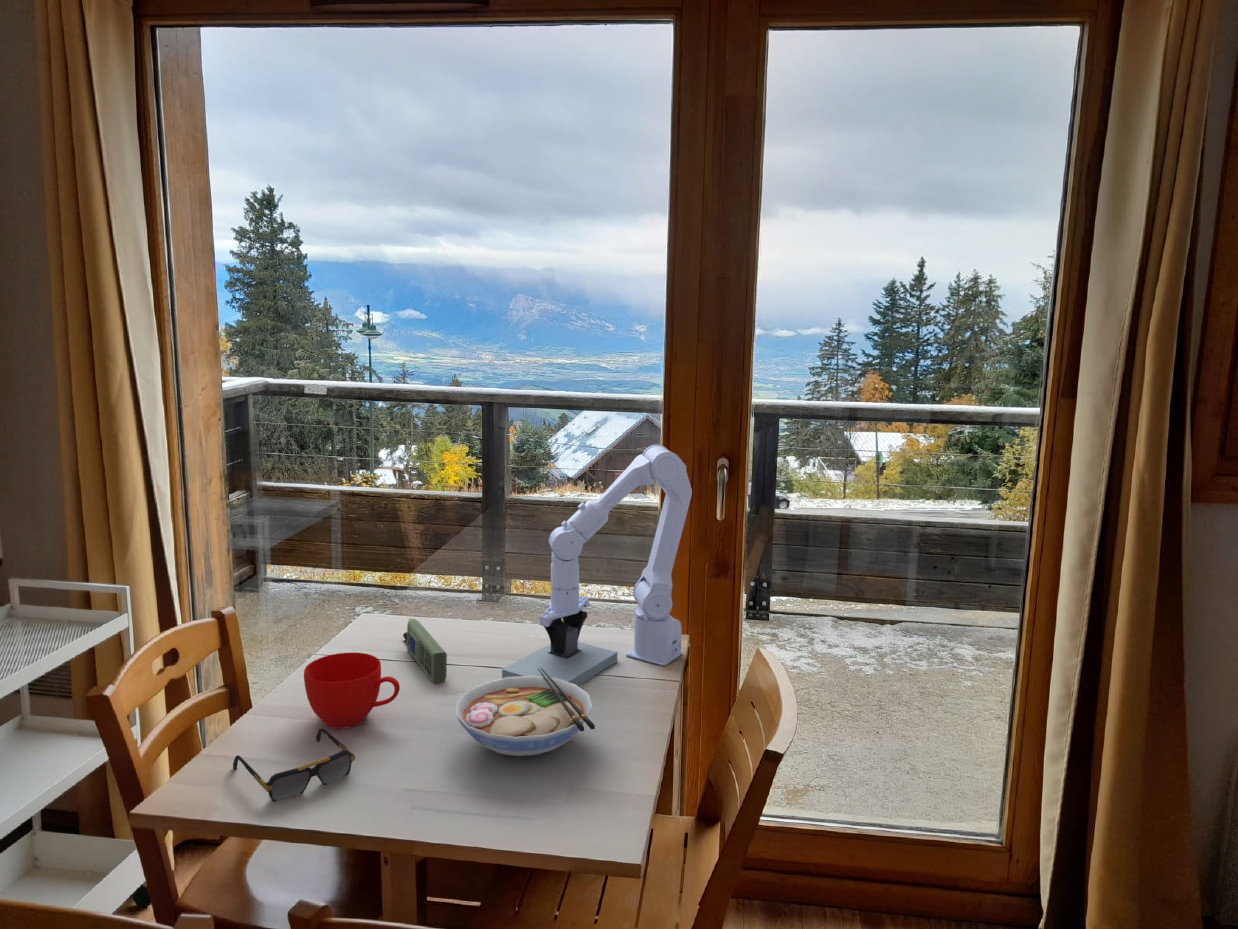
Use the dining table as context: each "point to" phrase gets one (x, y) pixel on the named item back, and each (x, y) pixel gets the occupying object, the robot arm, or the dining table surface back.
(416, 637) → the handheld radio
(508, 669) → the socket plate
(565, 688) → the ramen bowl
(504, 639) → the dining table surface
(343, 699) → the ceramic cup
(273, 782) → the sunglasses
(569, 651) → the block
